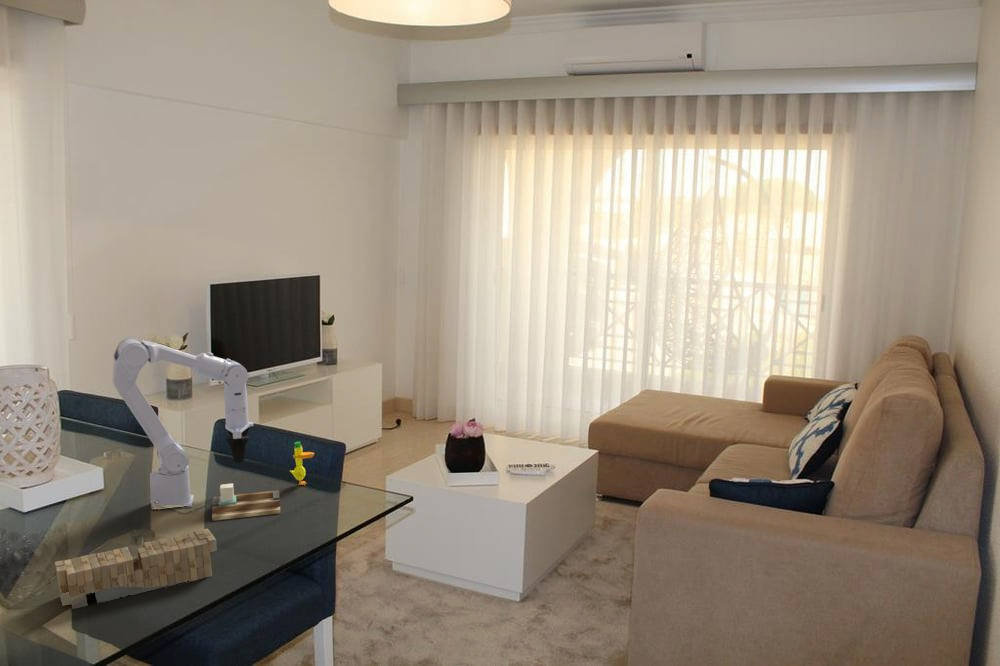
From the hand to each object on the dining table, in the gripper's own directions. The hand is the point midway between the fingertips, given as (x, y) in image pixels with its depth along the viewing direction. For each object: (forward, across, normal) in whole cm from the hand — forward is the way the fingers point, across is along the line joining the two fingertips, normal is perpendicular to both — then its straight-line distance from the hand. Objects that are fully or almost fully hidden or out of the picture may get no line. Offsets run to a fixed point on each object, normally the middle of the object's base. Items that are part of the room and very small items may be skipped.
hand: (239, 457), depth 222 cm
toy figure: (+10, +1, -16) cm, 19 cm away
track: (+9, -13, -2) cm, 16 cm away
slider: (+8, -13, +3) cm, 16 cm away
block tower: (+10, -51, +19) cm, 55 cm away
